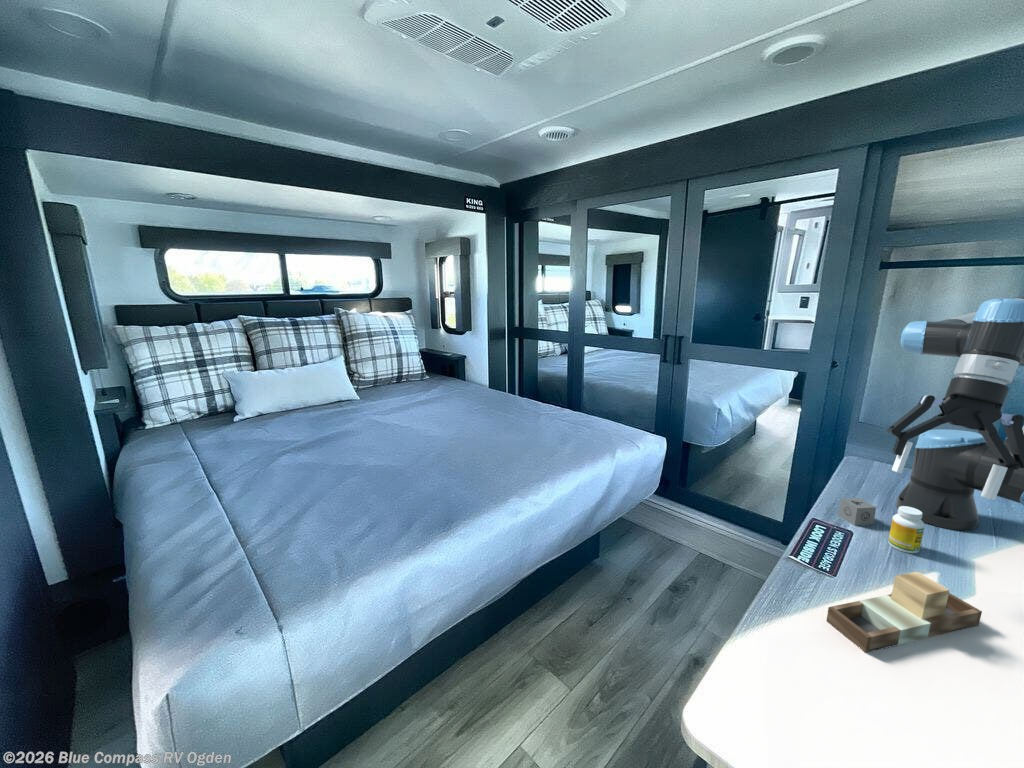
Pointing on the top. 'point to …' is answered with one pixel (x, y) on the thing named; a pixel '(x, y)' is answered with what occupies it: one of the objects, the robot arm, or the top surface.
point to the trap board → (897, 621)
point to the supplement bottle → (906, 530)
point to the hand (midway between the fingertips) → (940, 484)
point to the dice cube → (857, 511)
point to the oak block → (920, 595)
